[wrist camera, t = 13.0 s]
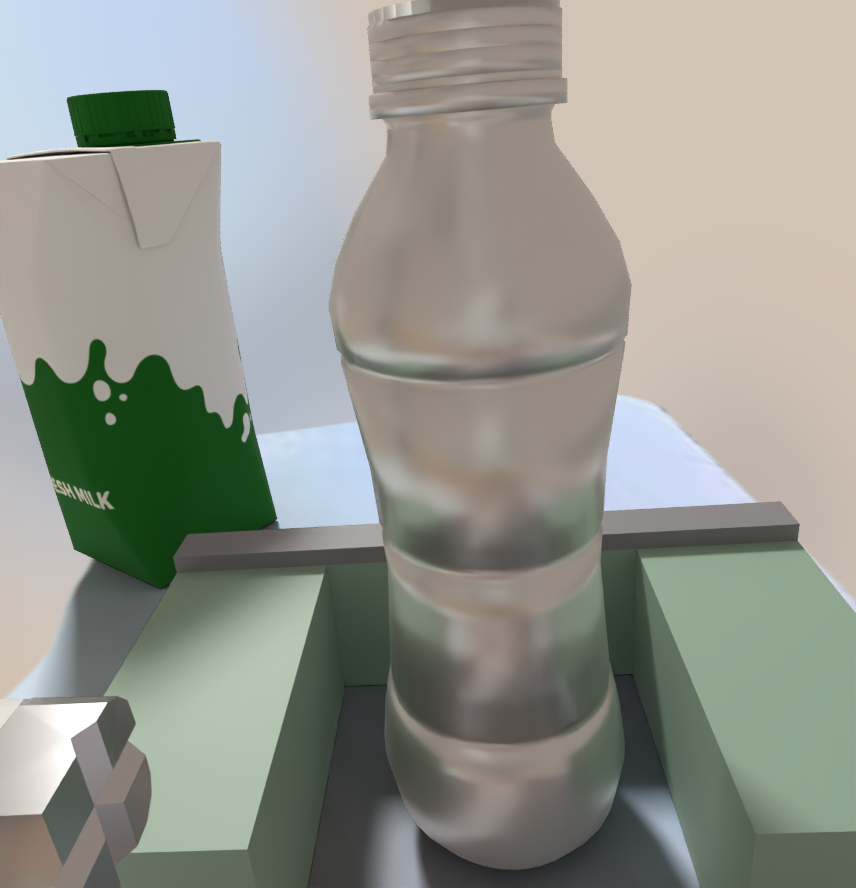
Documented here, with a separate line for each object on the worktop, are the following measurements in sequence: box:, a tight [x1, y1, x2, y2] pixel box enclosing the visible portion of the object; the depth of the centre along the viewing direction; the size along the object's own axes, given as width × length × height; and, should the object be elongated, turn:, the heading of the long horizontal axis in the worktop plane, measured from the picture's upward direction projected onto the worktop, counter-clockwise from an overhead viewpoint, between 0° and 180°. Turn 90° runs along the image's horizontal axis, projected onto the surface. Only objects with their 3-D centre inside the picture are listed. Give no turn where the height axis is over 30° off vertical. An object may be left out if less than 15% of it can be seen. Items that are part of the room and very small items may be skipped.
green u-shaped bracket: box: [104, 502, 856, 888], centre depth 21 cm, size 20×12×6 cm, turn 88°
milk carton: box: [0, 90, 277, 589], centre depth 34 cm, size 9×9×20 cm
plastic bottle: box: [329, 0, 631, 870], centre depth 18 cm, size 6×7×20 cm
